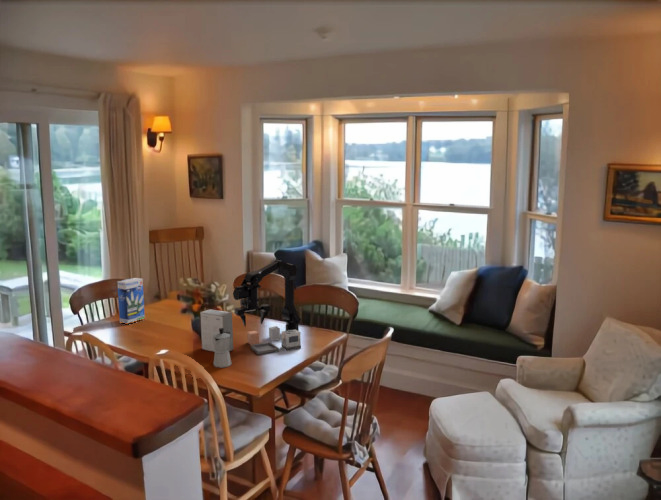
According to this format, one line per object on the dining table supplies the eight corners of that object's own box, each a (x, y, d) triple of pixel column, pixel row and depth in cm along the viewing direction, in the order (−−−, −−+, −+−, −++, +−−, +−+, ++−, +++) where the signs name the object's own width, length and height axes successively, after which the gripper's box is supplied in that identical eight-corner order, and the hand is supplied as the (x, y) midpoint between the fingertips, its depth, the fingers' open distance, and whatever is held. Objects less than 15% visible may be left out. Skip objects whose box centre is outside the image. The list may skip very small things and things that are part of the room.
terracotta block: (255, 341, 305) (255, 330, 304) (258, 343, 301) (258, 332, 300) (247, 342, 303) (247, 331, 302) (250, 345, 299) (250, 334, 298)
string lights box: (127, 325, 333) (124, 282, 329) (119, 323, 337) (116, 281, 333) (145, 319, 344) (143, 278, 340) (137, 318, 348) (134, 277, 344)
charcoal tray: (270, 345, 299) (270, 341, 299) (278, 351, 289) (278, 348, 289) (251, 348, 294) (251, 345, 294) (258, 354, 284) (258, 351, 284)
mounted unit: (295, 344, 300) (295, 329, 299) (300, 348, 294) (300, 332, 293) (281, 346, 296) (281, 331, 295) (286, 350, 290) (286, 334, 289)
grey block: (276, 336, 313) (276, 326, 312) (279, 338, 309) (279, 328, 308) (269, 337, 311) (269, 327, 310) (272, 340, 307) (272, 329, 306)
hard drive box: (233, 350, 291) (232, 312, 288) (224, 354, 285) (222, 316, 282) (211, 344, 299) (209, 308, 296) (201, 349, 293) (199, 312, 289)
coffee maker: (224, 370, 264) (223, 333, 261) (207, 368, 267) (206, 331, 264) (238, 359, 278) (237, 324, 275) (222, 357, 281) (221, 322, 278)
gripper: (263, 291, 309) (264, 318, 312) (230, 295, 301) (231, 323, 303) (271, 295, 300) (271, 324, 302) (237, 300, 291) (238, 329, 294)
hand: (253, 325), depth 301 cm, fingers open, 9 cm apart
